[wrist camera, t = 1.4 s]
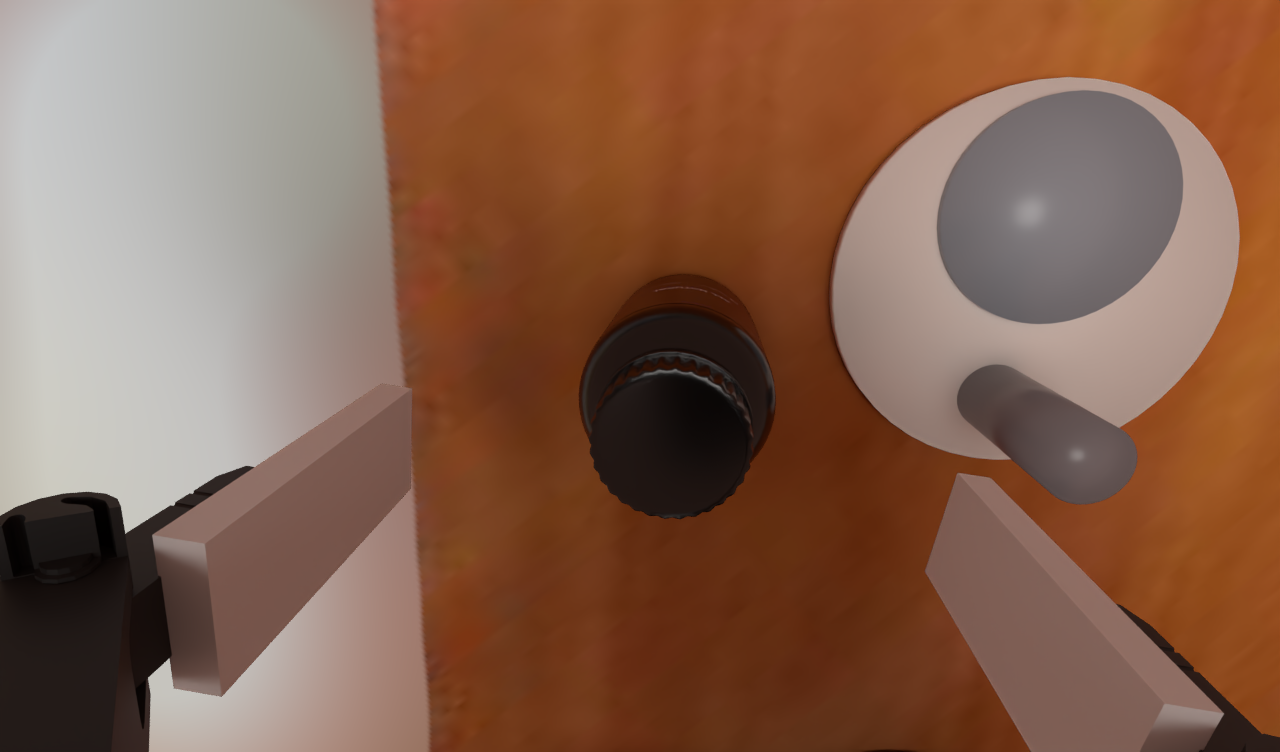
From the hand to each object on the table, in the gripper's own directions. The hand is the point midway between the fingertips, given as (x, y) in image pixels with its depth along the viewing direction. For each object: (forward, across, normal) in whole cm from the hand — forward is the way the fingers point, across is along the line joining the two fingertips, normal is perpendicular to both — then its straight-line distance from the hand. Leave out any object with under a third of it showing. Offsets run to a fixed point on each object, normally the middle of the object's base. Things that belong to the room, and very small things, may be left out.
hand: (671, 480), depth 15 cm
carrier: (+15, -14, -4) cm, 21 cm away
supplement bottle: (+15, 0, 0) cm, 15 cm away
